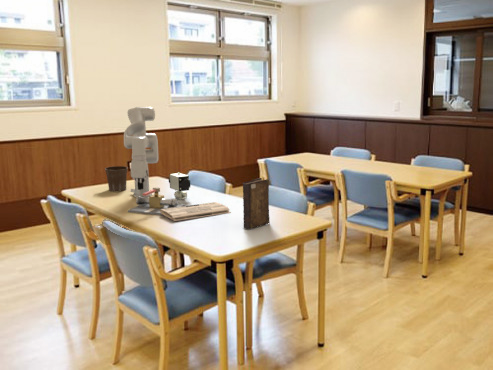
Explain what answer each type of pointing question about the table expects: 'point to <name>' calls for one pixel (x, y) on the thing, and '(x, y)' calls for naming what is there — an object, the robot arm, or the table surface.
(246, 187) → the book
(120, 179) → the plant pot
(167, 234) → the table surface
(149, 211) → the board
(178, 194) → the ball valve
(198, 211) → the newspaper
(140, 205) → the valve body
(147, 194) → the lever
